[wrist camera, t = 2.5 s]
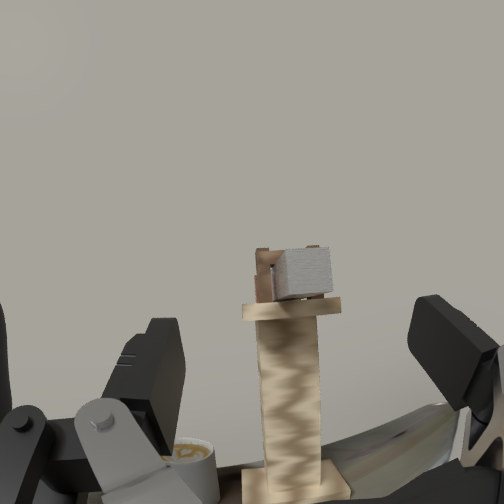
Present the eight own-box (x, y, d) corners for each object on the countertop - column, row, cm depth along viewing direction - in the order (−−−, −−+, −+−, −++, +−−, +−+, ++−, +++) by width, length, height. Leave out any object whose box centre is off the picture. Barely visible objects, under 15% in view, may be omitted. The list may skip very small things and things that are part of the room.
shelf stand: (243, 521, 29) (222, 250, 37) (242, 477, 43) (227, 267, 51) (353, 505, 30) (349, 243, 38) (329, 467, 44) (321, 261, 51)
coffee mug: (201, 478, 43) (195, 433, 45) (232, 501, 35) (226, 452, 37) (132, 493, 35) (121, 445, 37) (153, 524, 27) (139, 473, 29)
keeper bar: (270, 295, 26) (267, 243, 27) (256, 304, 51) (254, 276, 51) (349, 289, 26) (344, 239, 27) (298, 301, 51) (296, 274, 52)
